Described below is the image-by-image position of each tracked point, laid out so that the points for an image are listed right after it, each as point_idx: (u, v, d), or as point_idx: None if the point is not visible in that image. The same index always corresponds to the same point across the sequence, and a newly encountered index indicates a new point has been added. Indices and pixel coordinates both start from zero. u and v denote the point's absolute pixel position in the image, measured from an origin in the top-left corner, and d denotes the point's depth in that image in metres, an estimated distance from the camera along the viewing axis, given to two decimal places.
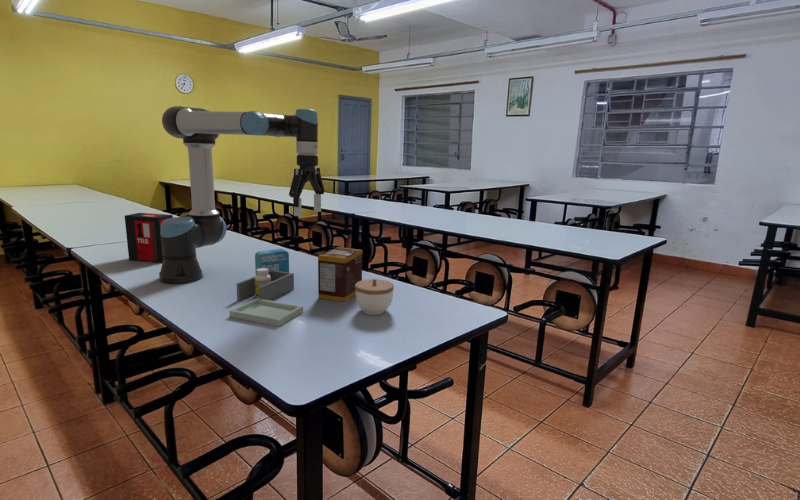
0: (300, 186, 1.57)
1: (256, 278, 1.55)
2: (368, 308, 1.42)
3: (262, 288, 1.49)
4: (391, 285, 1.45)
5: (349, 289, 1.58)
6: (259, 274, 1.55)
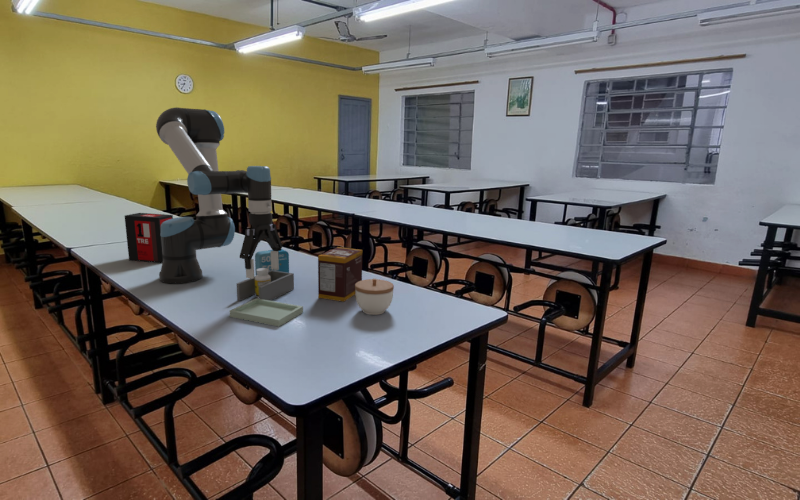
0: (252, 247, 1.48)
1: (256, 278, 1.55)
2: (368, 308, 1.42)
3: (262, 288, 1.49)
4: (391, 285, 1.45)
5: (349, 289, 1.58)
6: (259, 274, 1.55)
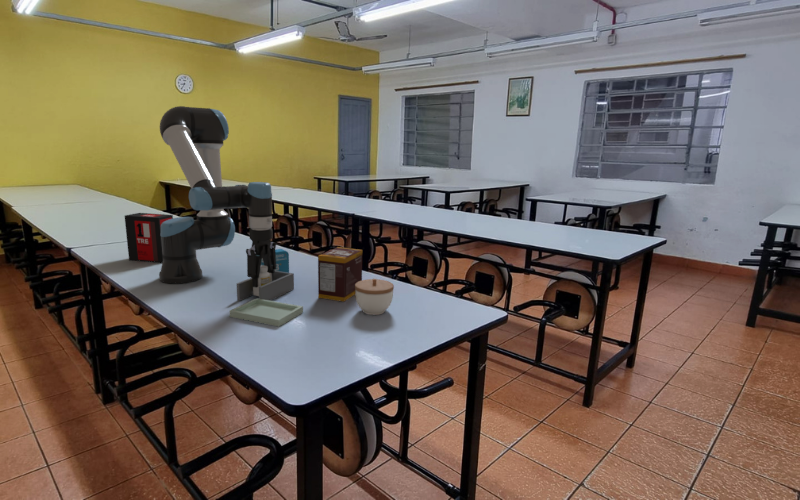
0: (257, 265, 1.52)
1: None
2: (368, 308, 1.42)
3: (262, 288, 1.49)
4: (391, 285, 1.45)
5: (349, 289, 1.58)
6: None
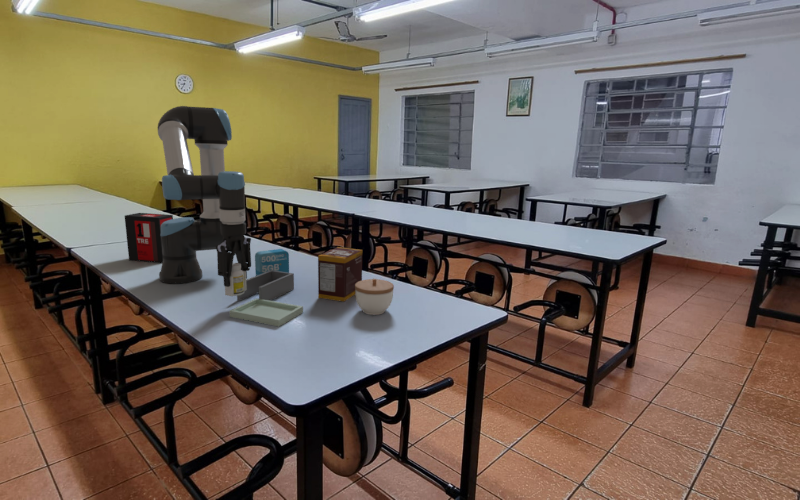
0: (228, 263, 1.39)
1: None
2: (368, 308, 1.42)
3: (262, 288, 1.49)
4: (391, 285, 1.45)
5: (349, 289, 1.58)
6: None
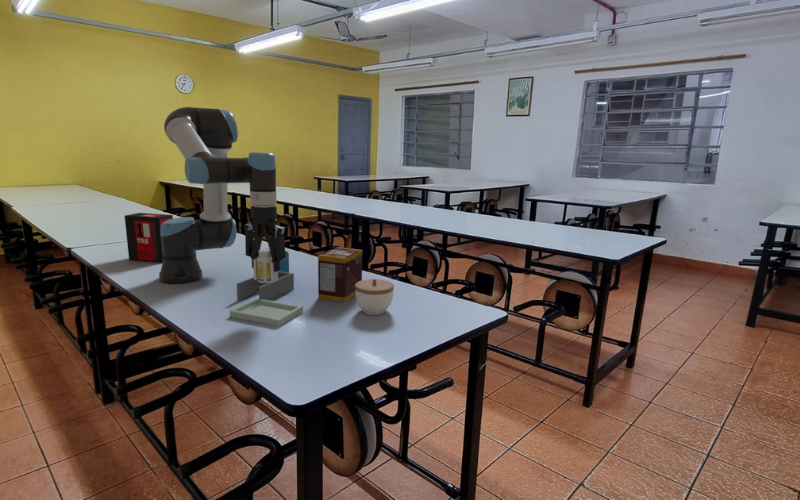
0: None
1: None
2: (367, 308, 1.42)
3: (262, 288, 1.49)
4: (391, 285, 1.45)
5: (349, 289, 1.58)
6: None
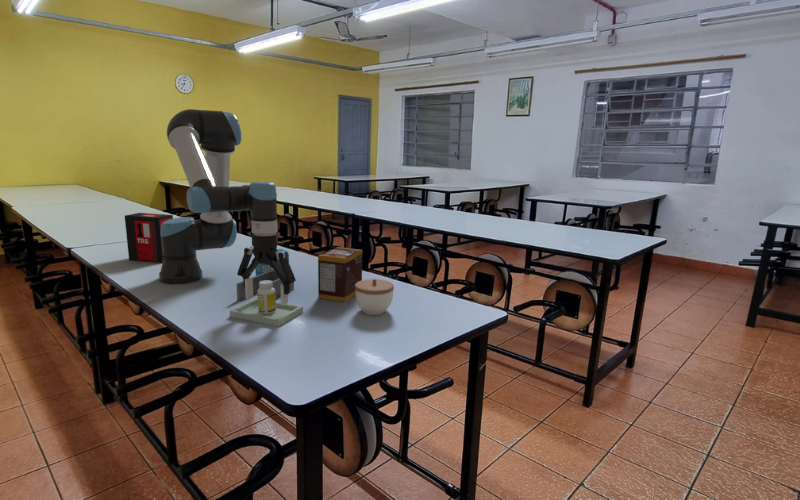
0: None
1: None
2: (367, 308, 1.42)
3: None
4: (391, 285, 1.45)
5: (349, 289, 1.58)
6: None
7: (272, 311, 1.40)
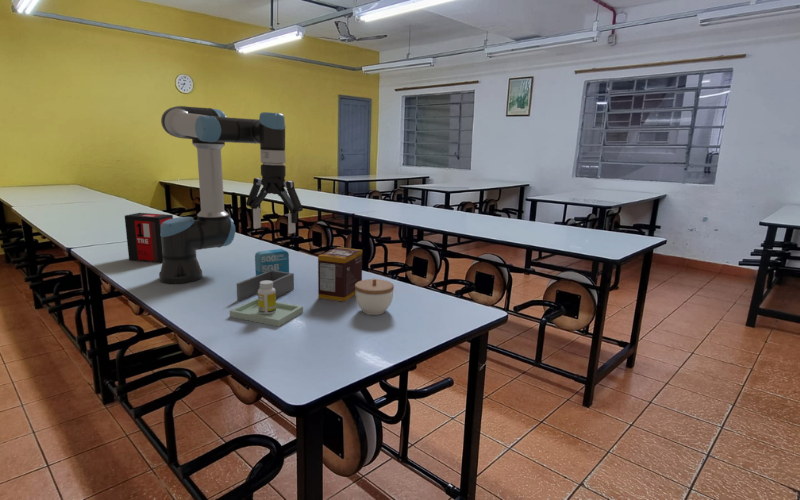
0: None
1: None
2: (368, 308, 1.42)
3: None
4: (391, 285, 1.45)
5: (349, 289, 1.58)
6: None
7: (272, 311, 1.40)
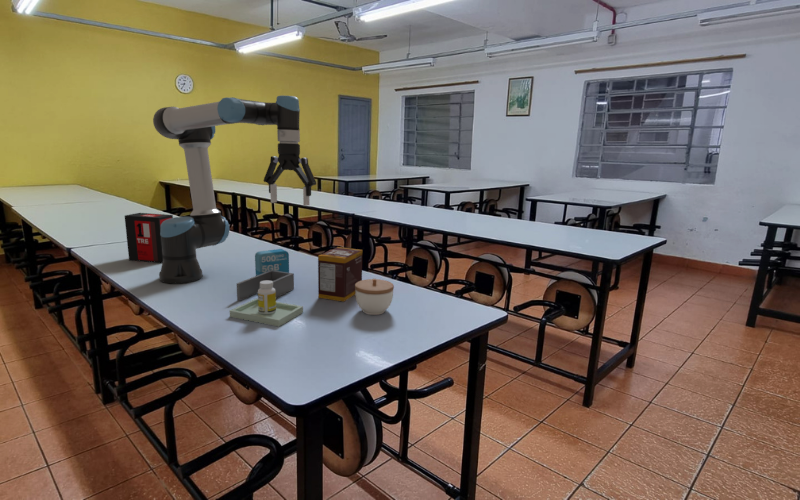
0: None
1: None
2: (368, 308, 1.42)
3: None
4: (391, 285, 1.45)
5: (349, 289, 1.58)
6: None
7: (272, 311, 1.40)
